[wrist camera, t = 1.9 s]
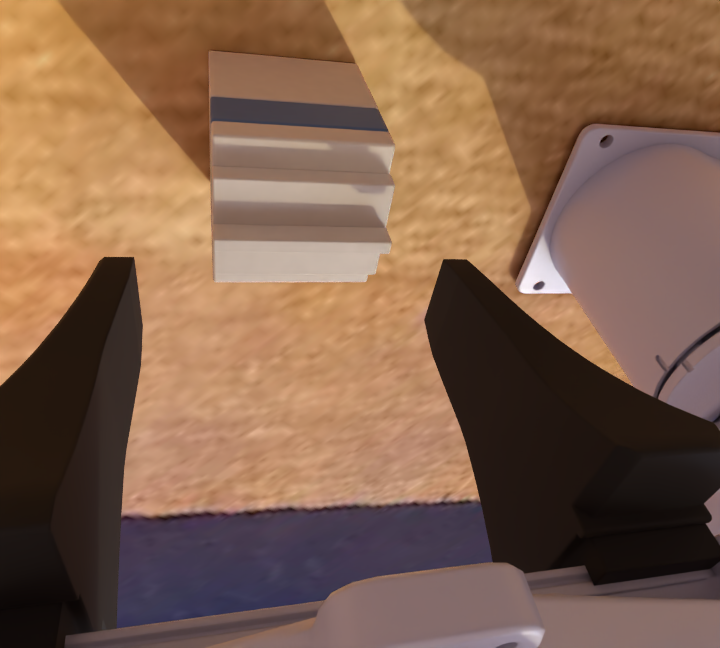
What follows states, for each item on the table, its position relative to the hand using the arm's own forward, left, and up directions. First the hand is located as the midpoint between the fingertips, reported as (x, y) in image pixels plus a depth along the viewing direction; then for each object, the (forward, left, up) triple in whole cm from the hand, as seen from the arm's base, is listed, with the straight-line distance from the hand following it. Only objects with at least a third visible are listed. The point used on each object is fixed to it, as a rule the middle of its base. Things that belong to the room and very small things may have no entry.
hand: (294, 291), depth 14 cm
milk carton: (0, 0, -8) cm, 8 cm away
